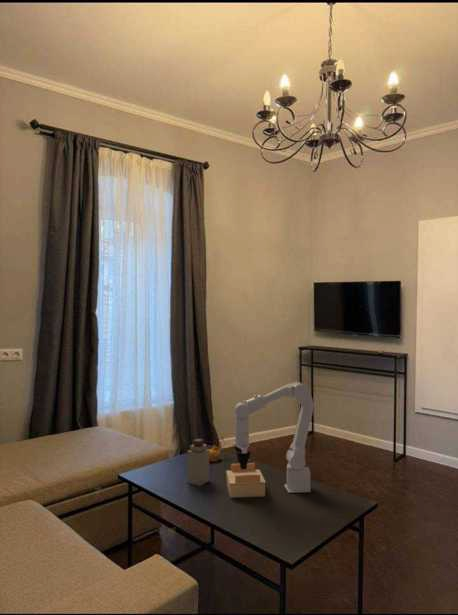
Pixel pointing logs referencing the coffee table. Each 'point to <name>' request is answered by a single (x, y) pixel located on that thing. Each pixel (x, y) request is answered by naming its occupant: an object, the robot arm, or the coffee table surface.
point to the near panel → (246, 479)
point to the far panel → (243, 470)
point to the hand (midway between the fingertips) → (242, 465)
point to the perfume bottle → (198, 463)
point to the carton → (246, 490)
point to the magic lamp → (215, 451)
